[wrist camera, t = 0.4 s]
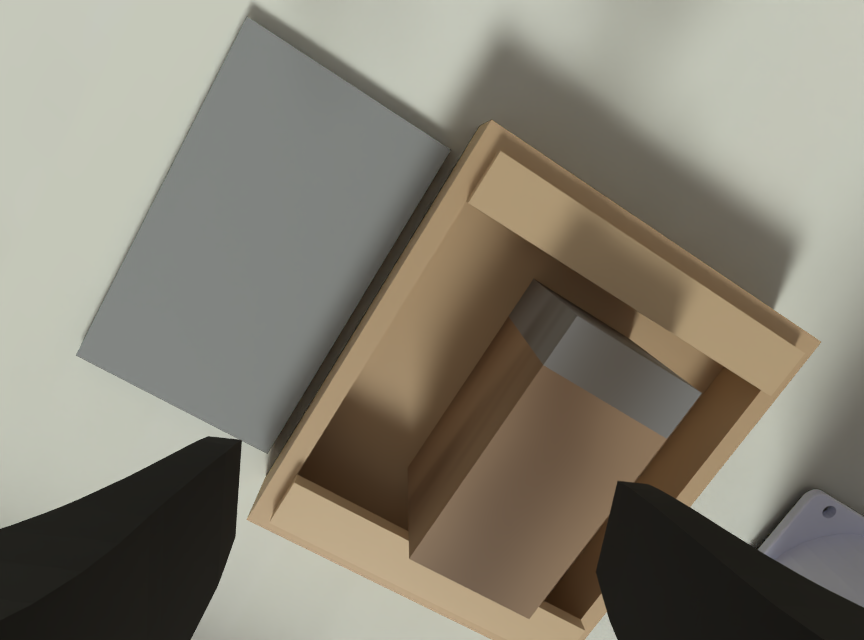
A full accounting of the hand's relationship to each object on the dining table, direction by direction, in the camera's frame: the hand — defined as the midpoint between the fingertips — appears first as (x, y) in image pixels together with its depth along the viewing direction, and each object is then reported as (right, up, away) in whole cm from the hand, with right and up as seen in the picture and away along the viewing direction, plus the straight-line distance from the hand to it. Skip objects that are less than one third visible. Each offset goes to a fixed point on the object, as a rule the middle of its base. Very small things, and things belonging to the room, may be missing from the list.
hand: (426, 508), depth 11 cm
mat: (-5, +6, +8) cm, 11 cm away
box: (+3, +1, +9) cm, 10 cm away
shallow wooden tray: (+3, +1, +10) cm, 10 cm away
